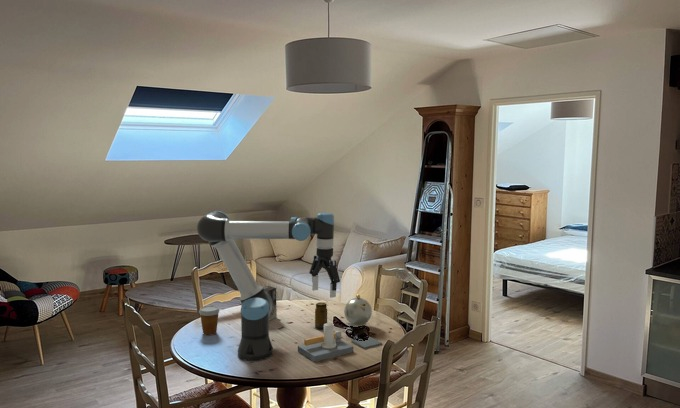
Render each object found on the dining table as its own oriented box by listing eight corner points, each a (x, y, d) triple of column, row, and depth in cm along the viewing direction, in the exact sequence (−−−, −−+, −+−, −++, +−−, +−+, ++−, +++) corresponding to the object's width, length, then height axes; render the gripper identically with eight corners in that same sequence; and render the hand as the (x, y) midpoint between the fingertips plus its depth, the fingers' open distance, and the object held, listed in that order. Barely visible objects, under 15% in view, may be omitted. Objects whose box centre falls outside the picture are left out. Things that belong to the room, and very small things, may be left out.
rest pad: (364, 349, 245) (364, 347, 245) (351, 342, 254) (351, 340, 254) (382, 344, 251) (382, 342, 251) (368, 337, 259) (368, 336, 259)
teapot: (377, 329, 271) (377, 296, 269) (352, 333, 265) (352, 300, 263) (360, 318, 287) (360, 287, 285) (336, 322, 281) (336, 290, 279)
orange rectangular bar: (307, 346, 237) (306, 340, 237) (303, 344, 240) (303, 338, 240) (342, 338, 248) (342, 332, 247) (338, 336, 250) (338, 330, 250)
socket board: (314, 361, 231) (314, 353, 231) (297, 351, 243) (297, 342, 242) (353, 351, 242) (353, 343, 242) (335, 342, 254) (335, 333, 253)
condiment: (322, 323, 278) (322, 300, 277) (333, 328, 272) (333, 304, 270) (310, 327, 274) (310, 303, 272) (321, 331, 267) (321, 307, 266)
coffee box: (267, 315, 291) (267, 285, 289) (277, 317, 288) (276, 287, 286) (255, 319, 284) (255, 289, 282) (264, 322, 280) (264, 291, 278)
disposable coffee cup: (201, 337, 258) (200, 312, 257) (197, 331, 267) (197, 307, 266) (221, 334, 262) (221, 310, 261) (217, 328, 271) (217, 304, 270)
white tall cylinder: (326, 355, 237) (326, 328, 236) (318, 350, 243) (318, 324, 241) (339, 352, 241) (339, 325, 240) (330, 347, 247) (331, 321, 245)
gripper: (348, 251, 240) (347, 299, 242) (315, 242, 260) (314, 286, 262) (335, 253, 235) (333, 301, 238) (302, 243, 255) (301, 288, 257)
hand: (323, 293), depth 250 cm, fingers open, 13 cm apart
